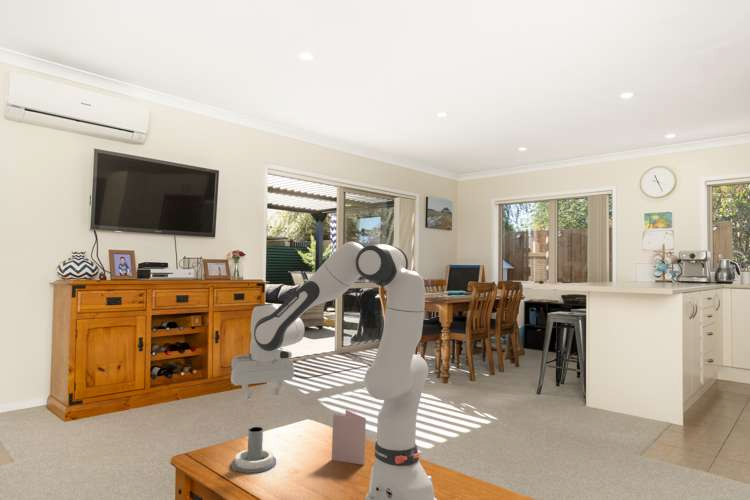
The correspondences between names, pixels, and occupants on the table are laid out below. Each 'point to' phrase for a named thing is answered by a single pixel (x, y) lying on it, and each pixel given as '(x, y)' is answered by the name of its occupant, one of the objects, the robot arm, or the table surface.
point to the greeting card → (348, 438)
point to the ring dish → (253, 462)
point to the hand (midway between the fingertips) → (262, 396)
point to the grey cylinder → (255, 444)
